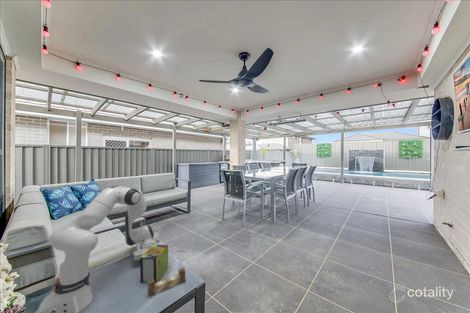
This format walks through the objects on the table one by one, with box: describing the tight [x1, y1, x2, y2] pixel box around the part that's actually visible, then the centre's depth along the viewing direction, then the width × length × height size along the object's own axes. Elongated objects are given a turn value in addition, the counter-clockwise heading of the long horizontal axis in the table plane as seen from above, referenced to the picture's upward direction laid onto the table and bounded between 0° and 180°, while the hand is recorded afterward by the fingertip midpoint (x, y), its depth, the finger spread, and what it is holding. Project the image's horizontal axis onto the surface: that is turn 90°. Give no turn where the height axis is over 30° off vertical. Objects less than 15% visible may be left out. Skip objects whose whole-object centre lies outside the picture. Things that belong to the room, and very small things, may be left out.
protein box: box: [139, 244, 169, 284], centre depth 114 cm, size 10×15×16 cm
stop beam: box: [147, 267, 186, 297], centre depth 104 cm, size 20×4×7 cm, turn 124°
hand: (152, 256), depth 121 cm, fingers closed
